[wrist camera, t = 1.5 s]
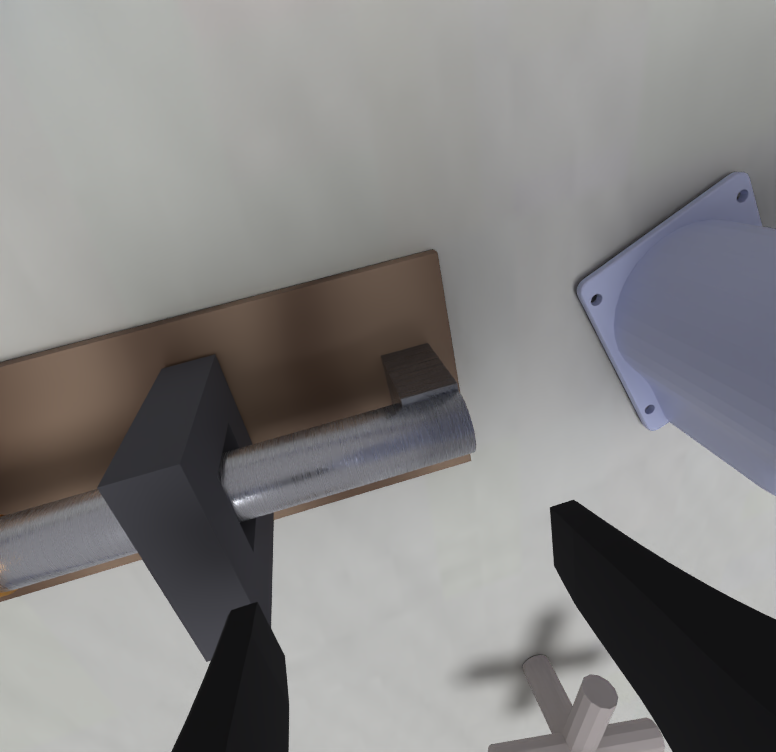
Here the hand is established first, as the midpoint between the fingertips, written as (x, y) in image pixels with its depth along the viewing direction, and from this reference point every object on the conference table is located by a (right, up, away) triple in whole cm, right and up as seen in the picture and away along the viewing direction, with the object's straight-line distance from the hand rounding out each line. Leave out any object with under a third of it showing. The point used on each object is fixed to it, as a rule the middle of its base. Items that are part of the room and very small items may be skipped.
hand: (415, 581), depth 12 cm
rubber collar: (-7, +3, +9) cm, 12 cm away
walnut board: (-9, +2, +9) cm, 13 cm away
